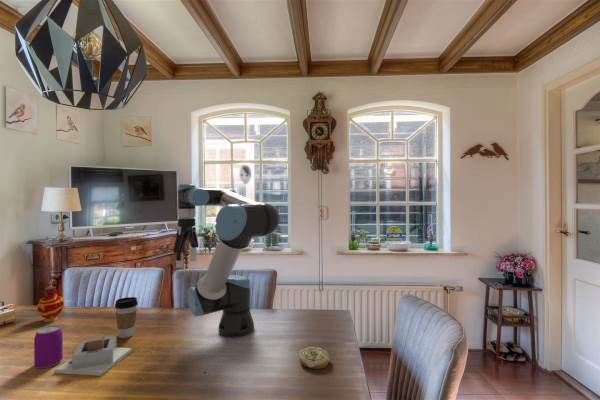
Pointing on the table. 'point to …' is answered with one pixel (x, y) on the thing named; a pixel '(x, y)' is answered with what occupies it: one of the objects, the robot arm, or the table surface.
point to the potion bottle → (50, 305)
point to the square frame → (94, 354)
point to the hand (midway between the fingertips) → (186, 264)
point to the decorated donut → (314, 357)
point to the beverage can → (48, 346)
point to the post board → (98, 370)
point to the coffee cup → (126, 316)
